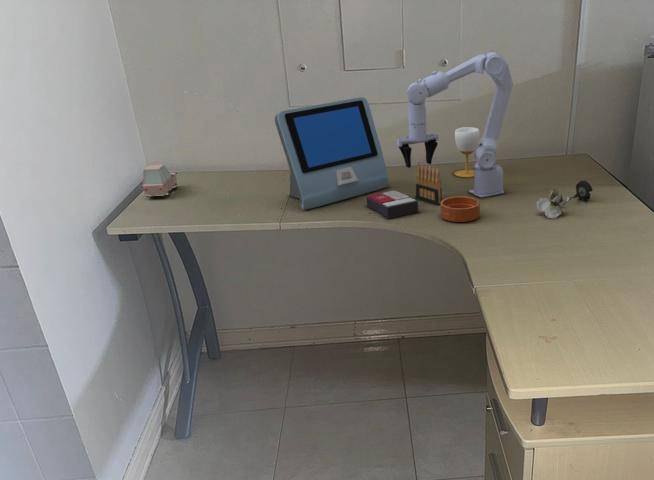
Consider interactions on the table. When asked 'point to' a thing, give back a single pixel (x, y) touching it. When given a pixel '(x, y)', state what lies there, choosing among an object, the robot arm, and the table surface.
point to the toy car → (158, 180)
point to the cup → (466, 146)
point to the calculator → (392, 204)
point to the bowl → (460, 209)
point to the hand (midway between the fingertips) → (418, 165)
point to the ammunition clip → (428, 185)
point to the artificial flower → (553, 206)
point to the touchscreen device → (331, 152)
